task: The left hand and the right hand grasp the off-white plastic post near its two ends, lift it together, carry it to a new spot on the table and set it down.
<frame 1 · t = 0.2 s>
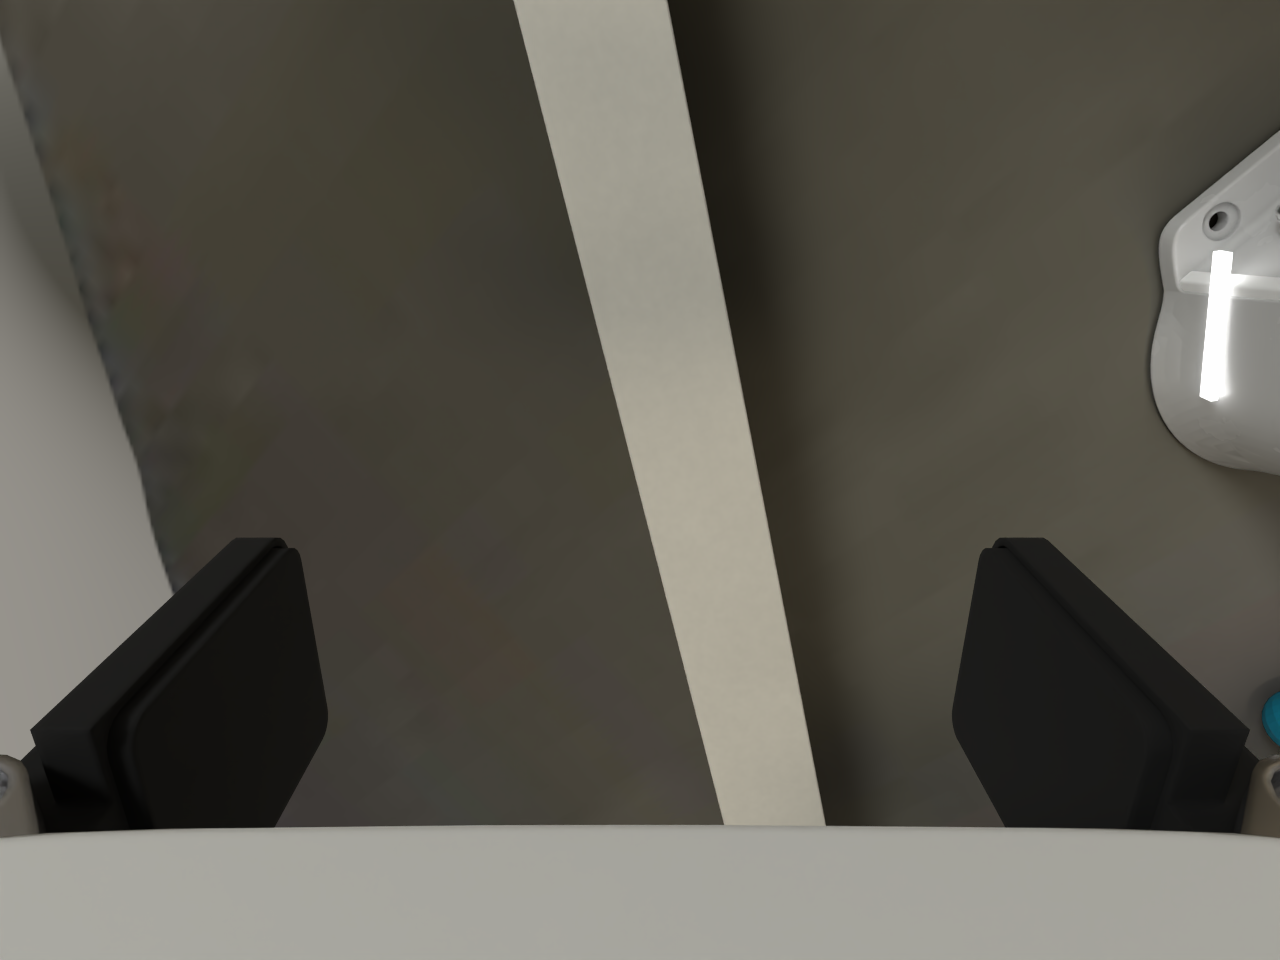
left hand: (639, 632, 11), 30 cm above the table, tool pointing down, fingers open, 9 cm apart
post: (707, 511, 44), on the table
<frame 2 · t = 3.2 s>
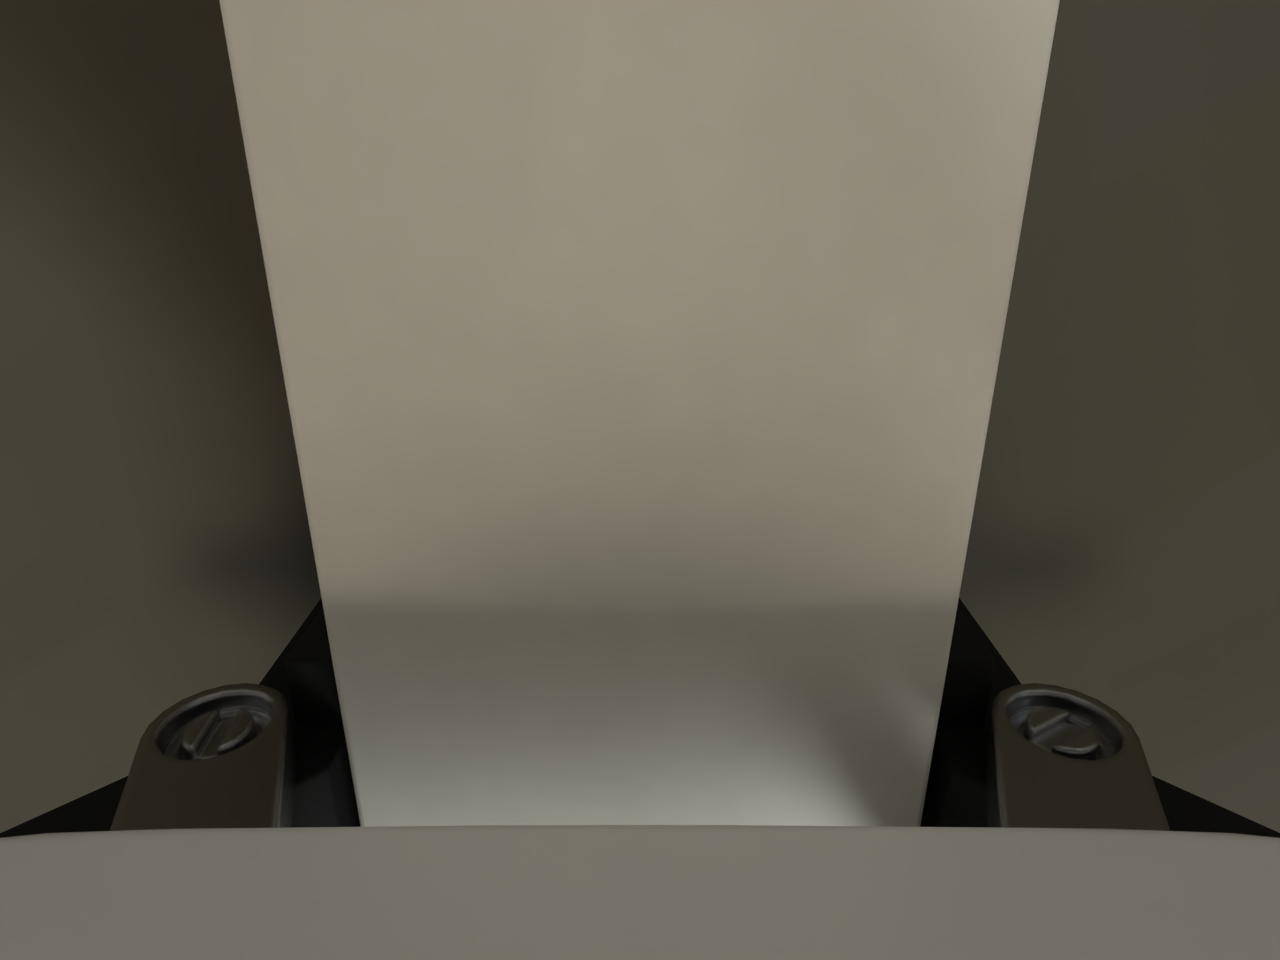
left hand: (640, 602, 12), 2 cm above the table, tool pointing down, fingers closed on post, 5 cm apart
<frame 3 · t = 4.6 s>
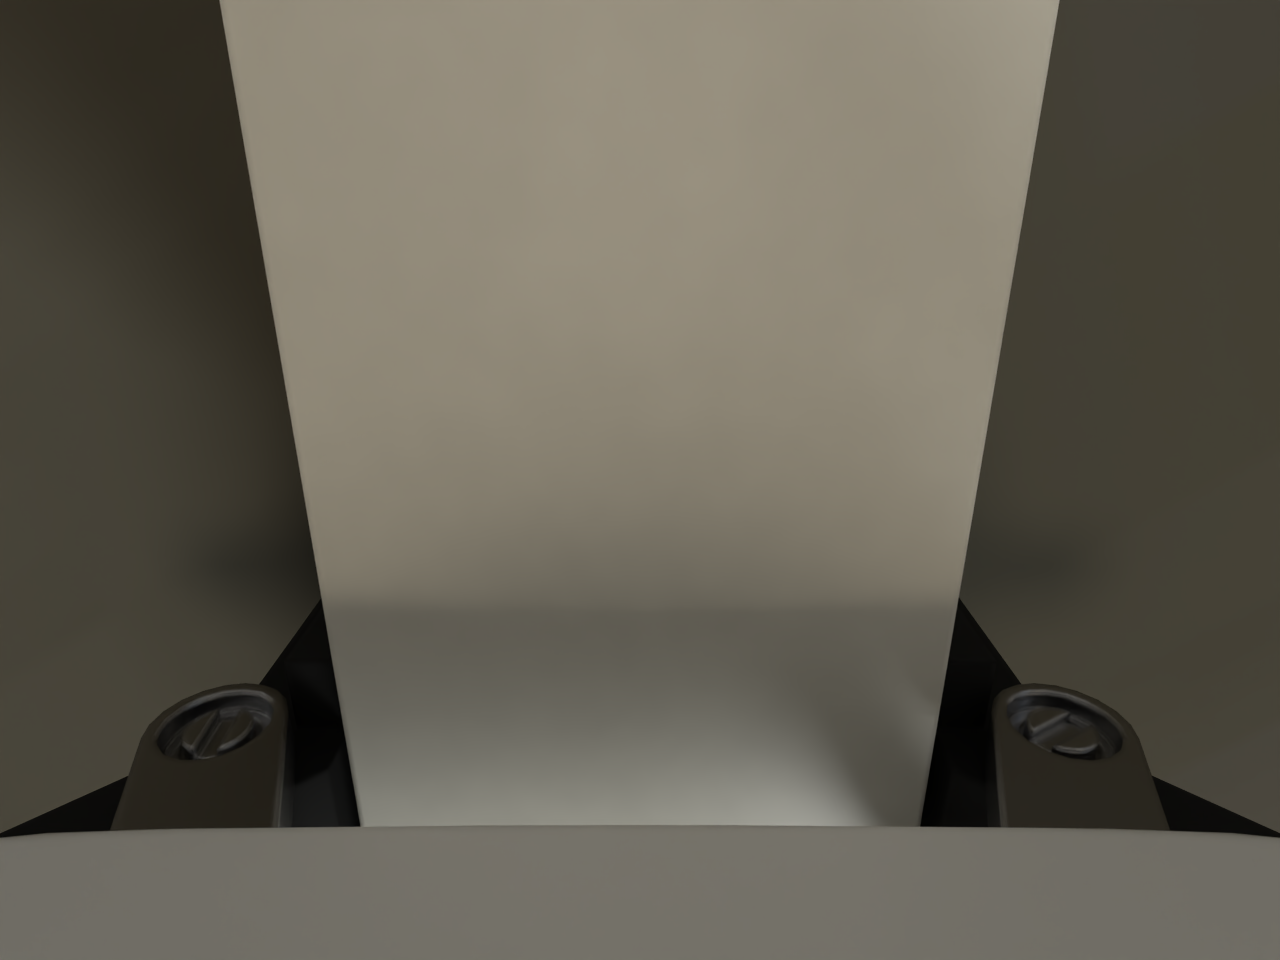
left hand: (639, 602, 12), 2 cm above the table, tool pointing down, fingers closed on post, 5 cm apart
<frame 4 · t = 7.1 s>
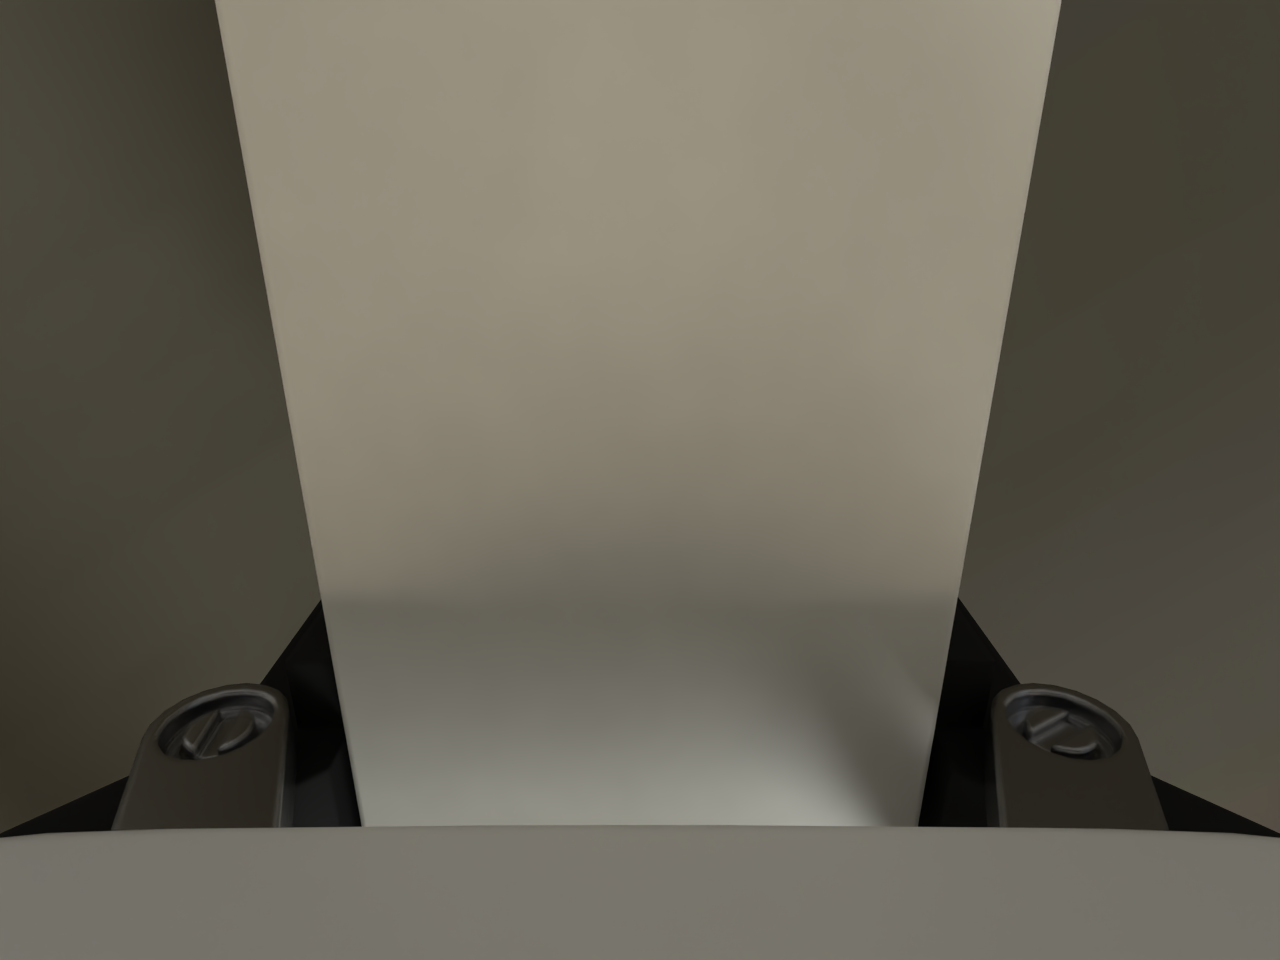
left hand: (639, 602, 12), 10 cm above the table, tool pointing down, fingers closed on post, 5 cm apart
when the left hand's fingers open (3 cm above the table, at t = 11.0 s): post stays where it is, on the table.
when the right hand's fingers open (4 cm above the table, at t = 11.1 s): post stays where it is, on the table.
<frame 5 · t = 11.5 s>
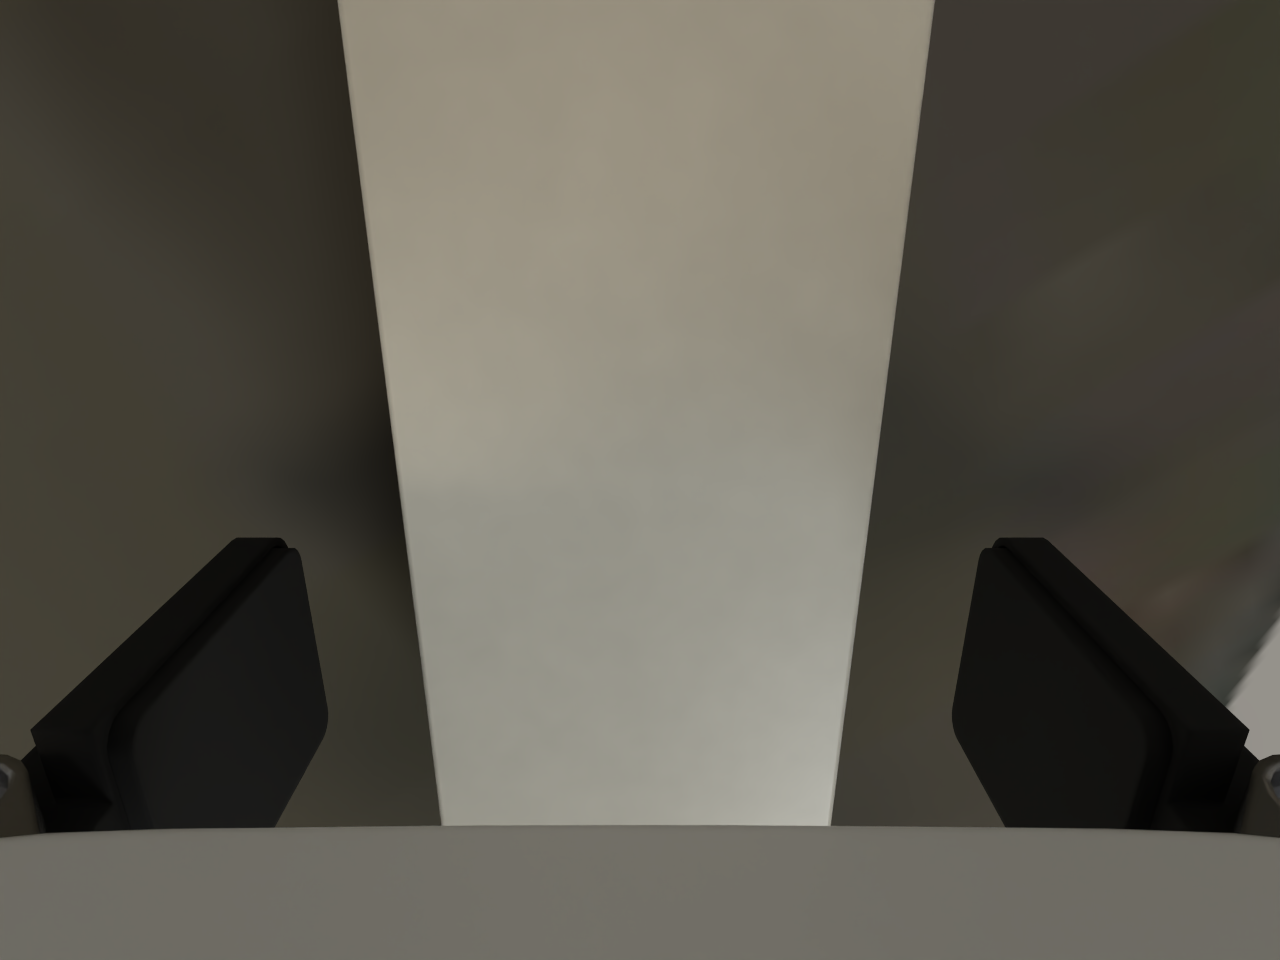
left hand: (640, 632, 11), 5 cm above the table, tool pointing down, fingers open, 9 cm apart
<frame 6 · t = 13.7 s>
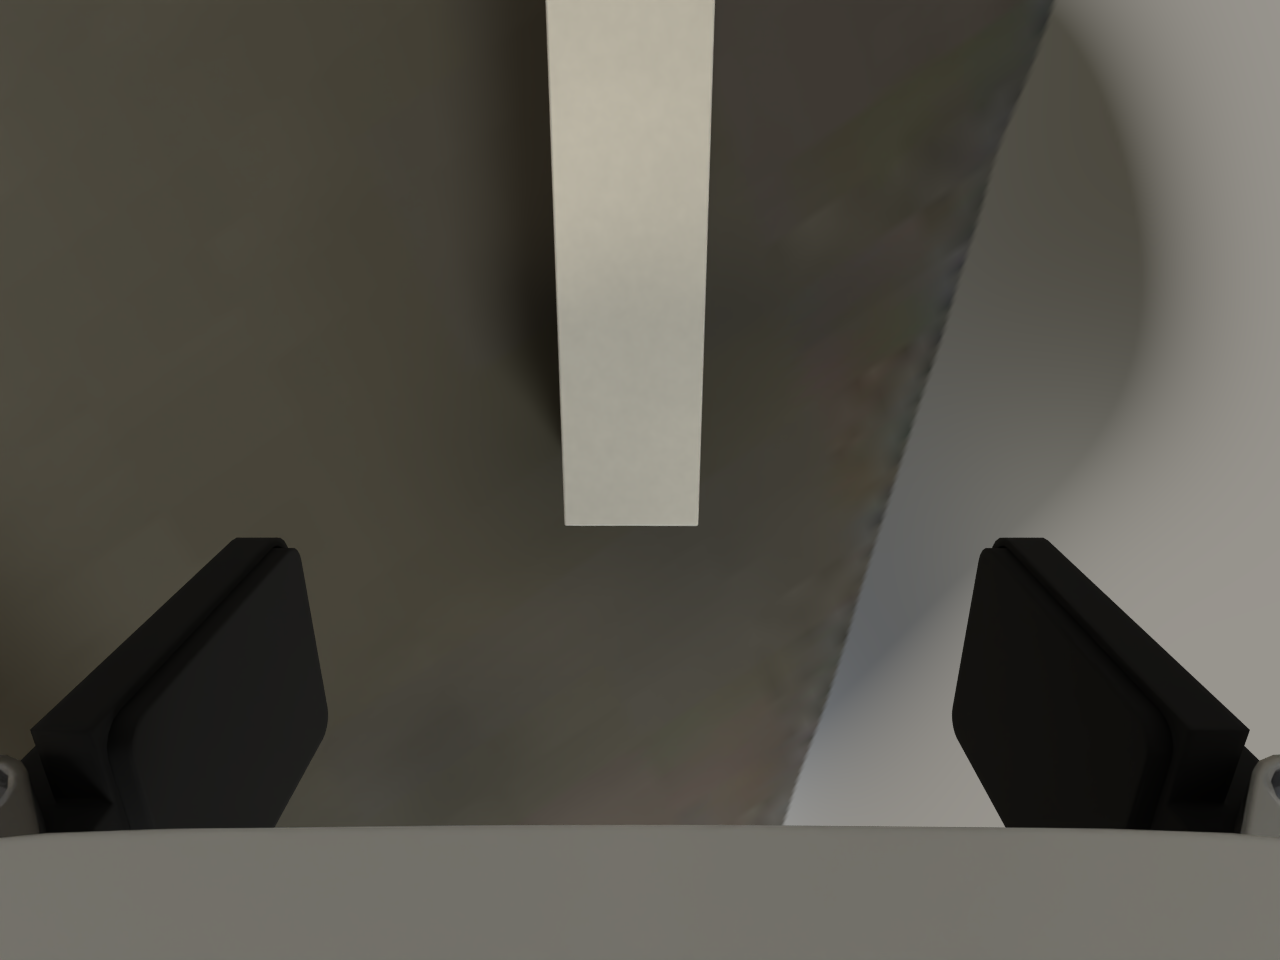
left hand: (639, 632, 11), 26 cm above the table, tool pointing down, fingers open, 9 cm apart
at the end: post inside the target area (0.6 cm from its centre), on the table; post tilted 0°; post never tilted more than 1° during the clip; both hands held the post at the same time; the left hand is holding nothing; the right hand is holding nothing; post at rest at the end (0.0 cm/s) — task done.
